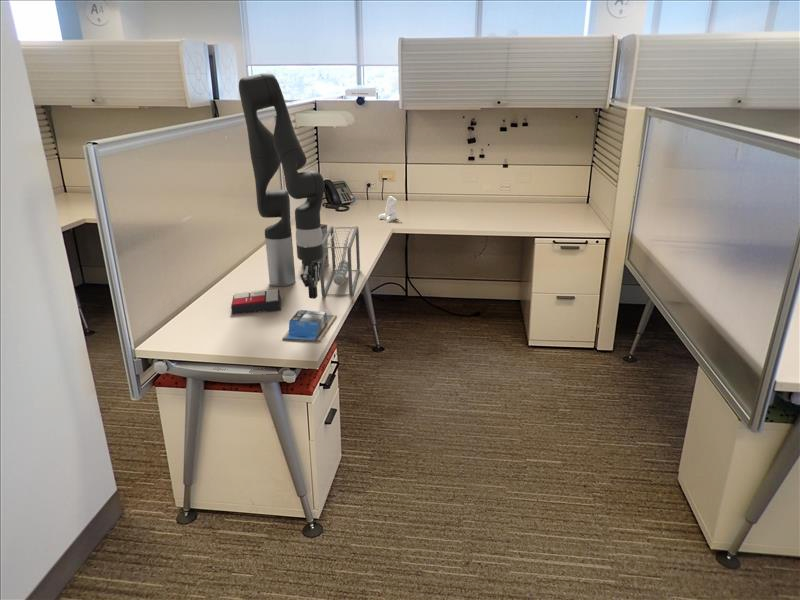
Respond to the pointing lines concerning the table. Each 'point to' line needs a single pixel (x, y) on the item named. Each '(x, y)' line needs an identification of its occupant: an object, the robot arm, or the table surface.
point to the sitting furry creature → (389, 210)
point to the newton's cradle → (343, 265)
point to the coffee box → (325, 250)
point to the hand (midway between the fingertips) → (313, 297)
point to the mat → (329, 322)
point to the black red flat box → (256, 301)
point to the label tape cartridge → (307, 324)
